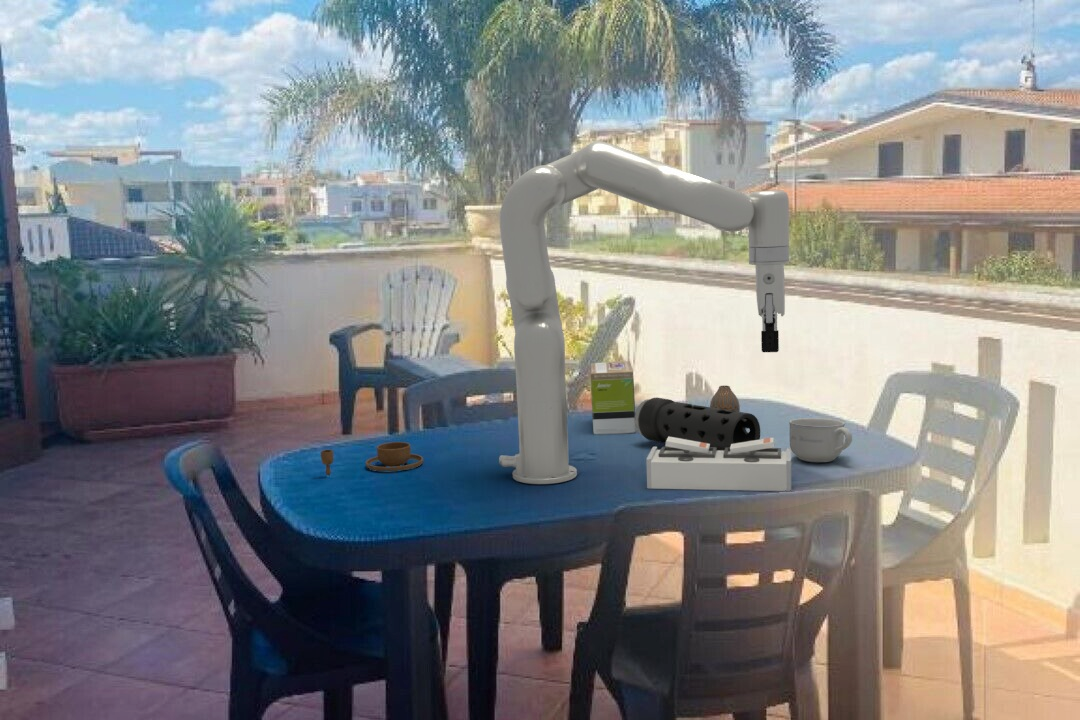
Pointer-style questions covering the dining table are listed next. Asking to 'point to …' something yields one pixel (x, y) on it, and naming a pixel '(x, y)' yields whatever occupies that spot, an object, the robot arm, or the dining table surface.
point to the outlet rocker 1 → (687, 445)
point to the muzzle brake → (694, 423)
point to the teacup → (818, 438)
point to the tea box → (612, 398)
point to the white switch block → (719, 469)
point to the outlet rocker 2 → (752, 445)
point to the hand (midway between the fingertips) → (770, 351)
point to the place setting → (383, 457)
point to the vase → (725, 399)
